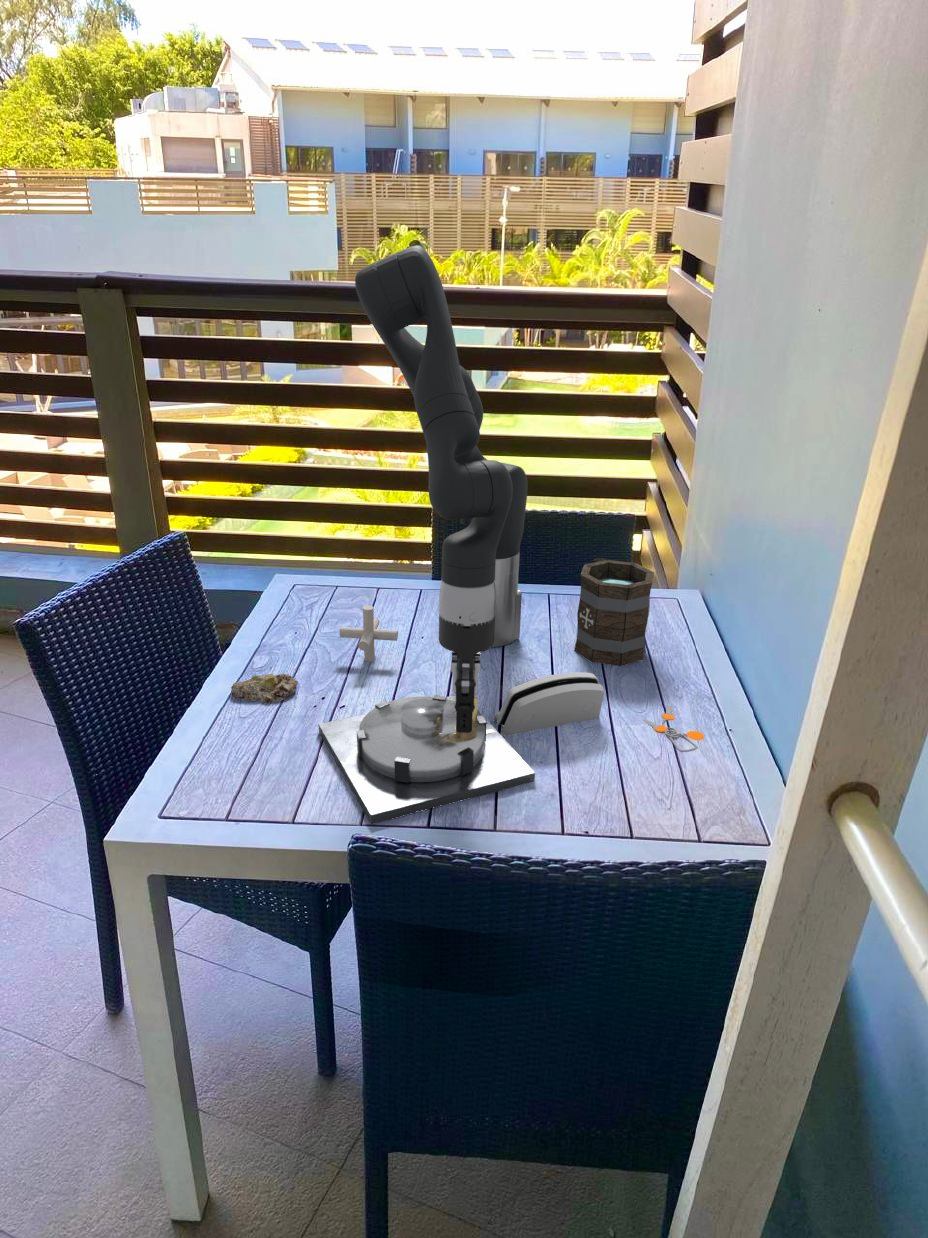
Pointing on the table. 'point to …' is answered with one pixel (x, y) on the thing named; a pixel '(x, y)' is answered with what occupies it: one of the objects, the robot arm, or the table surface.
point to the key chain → (661, 728)
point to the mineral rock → (265, 688)
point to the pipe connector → (368, 633)
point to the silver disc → (420, 739)
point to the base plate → (401, 798)
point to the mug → (613, 612)
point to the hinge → (550, 702)
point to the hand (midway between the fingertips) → (464, 724)
